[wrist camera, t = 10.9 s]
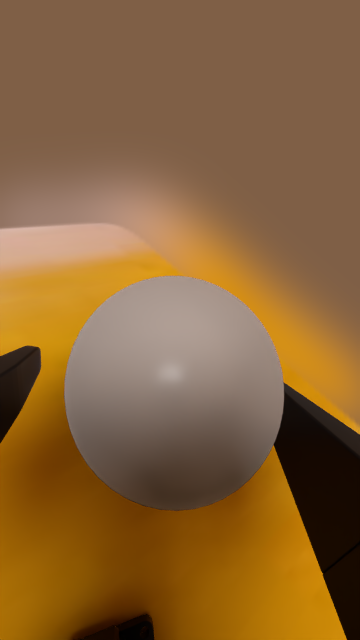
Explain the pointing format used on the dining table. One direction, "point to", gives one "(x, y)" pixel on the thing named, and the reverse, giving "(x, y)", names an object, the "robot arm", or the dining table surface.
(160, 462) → the duct sleeve
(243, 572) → the dining table surface
